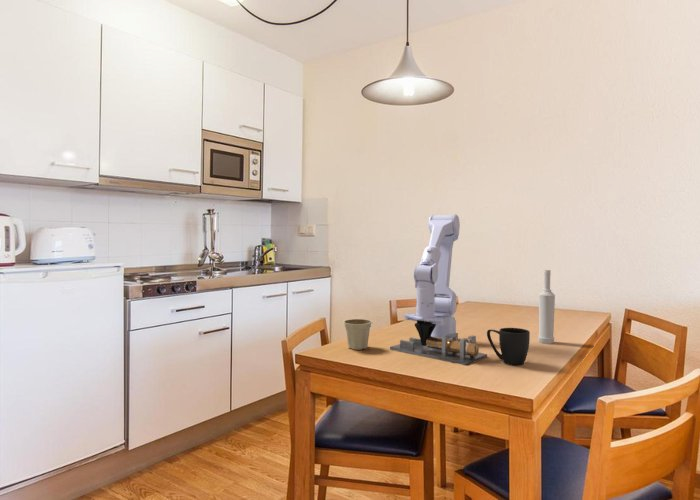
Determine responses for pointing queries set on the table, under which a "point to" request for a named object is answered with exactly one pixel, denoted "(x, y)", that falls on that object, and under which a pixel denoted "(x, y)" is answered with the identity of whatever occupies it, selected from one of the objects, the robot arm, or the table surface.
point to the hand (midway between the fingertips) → (425, 345)
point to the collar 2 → (463, 345)
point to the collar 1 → (445, 341)
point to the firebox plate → (434, 352)
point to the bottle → (546, 312)
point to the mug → (512, 345)
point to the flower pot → (357, 333)
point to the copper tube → (452, 346)
